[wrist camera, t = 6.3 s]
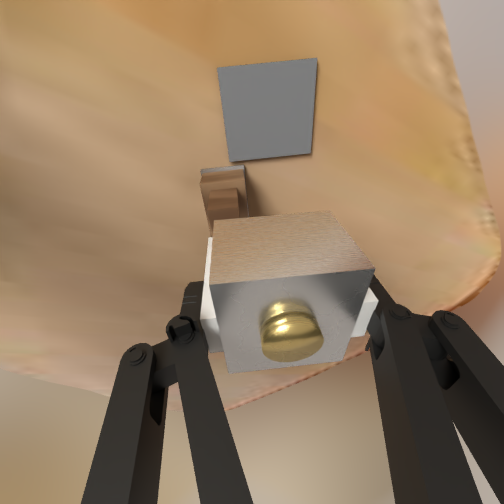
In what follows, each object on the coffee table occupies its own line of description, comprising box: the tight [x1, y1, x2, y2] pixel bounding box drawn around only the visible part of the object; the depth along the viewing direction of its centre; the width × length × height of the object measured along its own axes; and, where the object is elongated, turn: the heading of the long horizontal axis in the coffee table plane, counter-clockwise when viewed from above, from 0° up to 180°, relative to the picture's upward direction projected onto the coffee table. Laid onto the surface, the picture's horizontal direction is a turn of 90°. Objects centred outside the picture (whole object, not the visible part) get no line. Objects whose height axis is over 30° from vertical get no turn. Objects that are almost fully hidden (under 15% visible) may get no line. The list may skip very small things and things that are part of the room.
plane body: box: [200, 165, 249, 237], centre depth 31 cm, size 19×5×10 cm, turn 5°
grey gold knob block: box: [209, 210, 375, 374], centre depth 13 cm, size 6×7×6 cm
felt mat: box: [217, 58, 317, 162], centre depth 26 cm, size 10×9×1 cm
